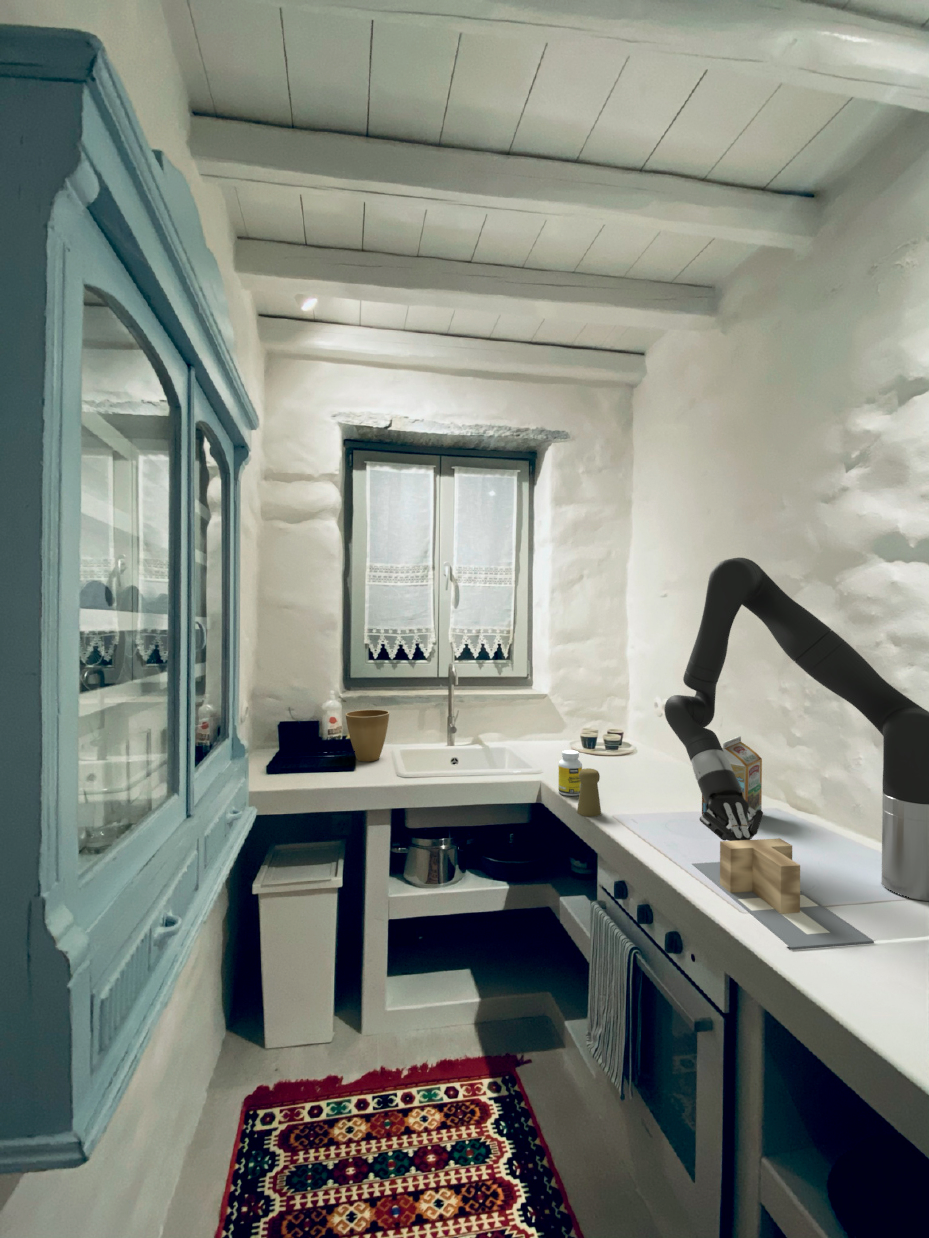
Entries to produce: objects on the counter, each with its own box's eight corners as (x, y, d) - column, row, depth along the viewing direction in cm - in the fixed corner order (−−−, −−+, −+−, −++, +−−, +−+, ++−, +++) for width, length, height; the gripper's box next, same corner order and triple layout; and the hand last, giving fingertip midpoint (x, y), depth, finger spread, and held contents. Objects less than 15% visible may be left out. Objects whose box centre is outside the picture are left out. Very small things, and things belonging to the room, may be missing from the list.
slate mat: (756, 861, 123) (756, 859, 123) (873, 943, 93) (873, 940, 93) (691, 865, 121) (691, 863, 121) (790, 949, 91) (790, 947, 91)
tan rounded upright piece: (584, 806, 157) (584, 764, 157) (605, 811, 153) (605, 768, 153) (572, 813, 152) (572, 769, 152) (594, 818, 148) (594, 773, 148)
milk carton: (719, 804, 158) (719, 732, 158) (761, 814, 151) (762, 739, 150) (701, 814, 151) (702, 739, 151) (745, 825, 143) (745, 746, 143)
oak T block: (779, 880, 113) (780, 838, 113) (823, 910, 102) (823, 863, 102) (719, 883, 112) (720, 841, 112) (757, 915, 101) (757, 867, 101)
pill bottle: (563, 797, 165) (563, 755, 164) (555, 790, 171) (555, 749, 171) (585, 795, 166) (585, 754, 166) (576, 789, 172) (576, 748, 172)
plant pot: (391, 753, 214) (390, 708, 214) (387, 764, 200) (387, 716, 199) (348, 754, 214) (348, 709, 213) (342, 765, 199) (342, 716, 198)
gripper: (691, 768, 122) (723, 853, 110) (752, 766, 123) (791, 850, 111) (679, 786, 127) (708, 869, 115) (737, 784, 129) (772, 866, 117)
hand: (749, 860), depth 113 cm, fingers closed
